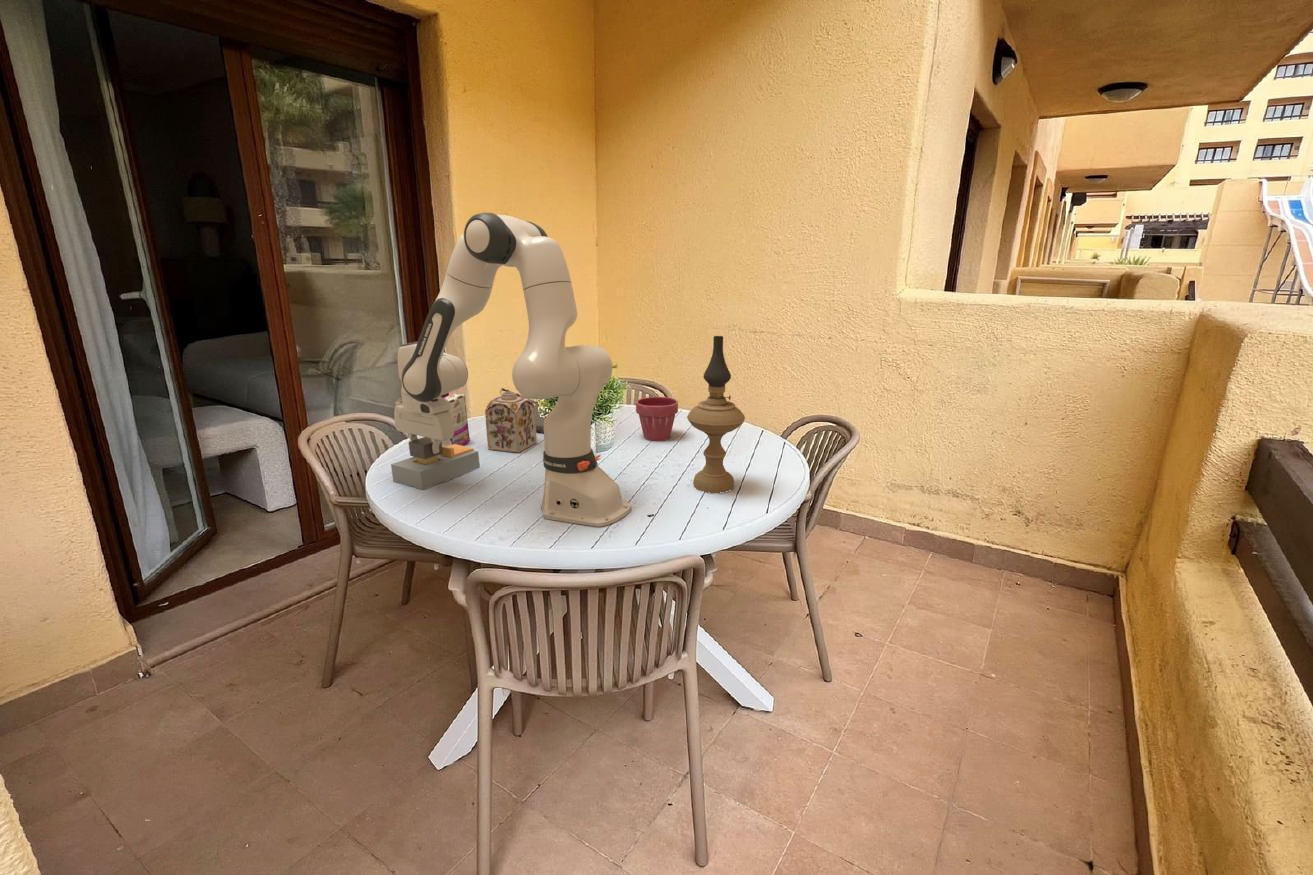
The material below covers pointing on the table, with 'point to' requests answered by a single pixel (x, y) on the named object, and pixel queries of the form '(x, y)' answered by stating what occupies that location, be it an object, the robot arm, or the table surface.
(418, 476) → the socket block
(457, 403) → the candy bar box
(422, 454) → the plug
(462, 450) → the panel
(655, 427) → the plant pot
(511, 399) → the decorative jar
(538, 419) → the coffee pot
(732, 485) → the oil lamp
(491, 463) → the table surface
